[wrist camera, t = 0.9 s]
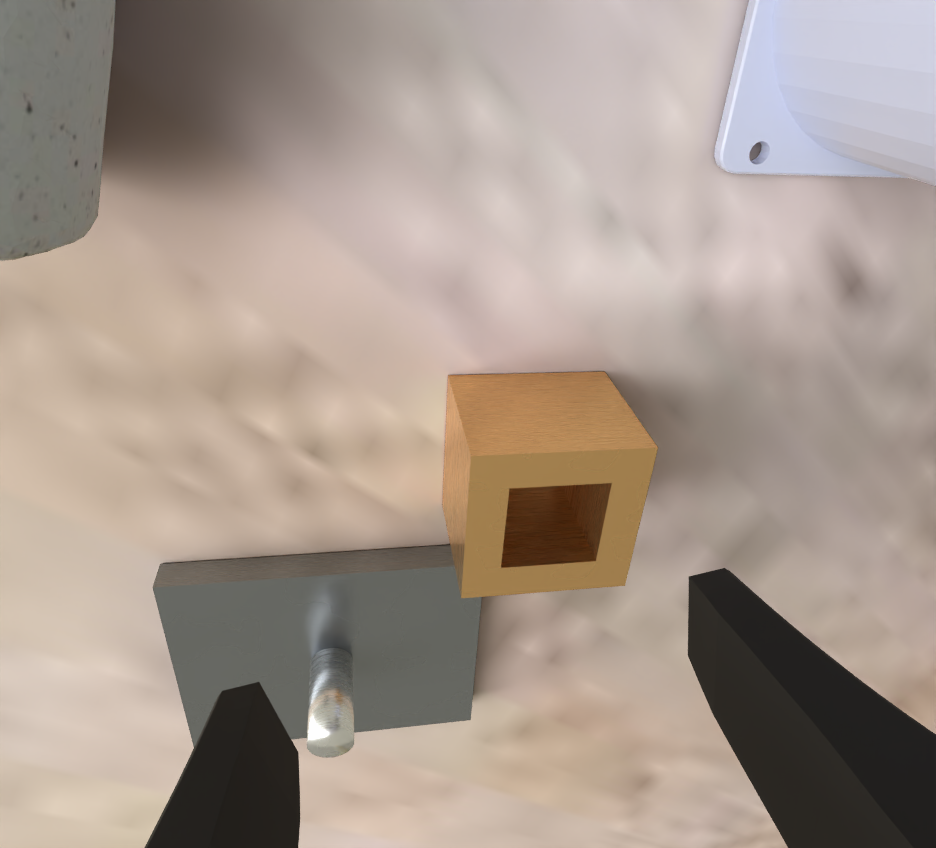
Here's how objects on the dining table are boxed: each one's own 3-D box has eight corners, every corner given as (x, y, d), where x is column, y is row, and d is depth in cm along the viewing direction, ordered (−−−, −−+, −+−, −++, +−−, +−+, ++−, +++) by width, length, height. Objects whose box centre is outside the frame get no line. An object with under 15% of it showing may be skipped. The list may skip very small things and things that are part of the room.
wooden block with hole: (604, 371, 20) (658, 447, 17) (582, 496, 22) (624, 585, 19) (448, 375, 19) (471, 455, 16) (442, 504, 22) (461, 598, 18)
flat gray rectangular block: (479, 543, 23) (503, 637, 19) (466, 697, 27) (484, 797, 24) (160, 564, 21) (125, 671, 18) (199, 724, 25) (178, 836, 22)
